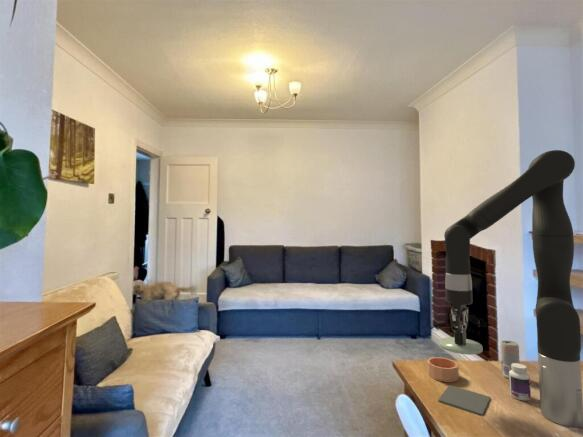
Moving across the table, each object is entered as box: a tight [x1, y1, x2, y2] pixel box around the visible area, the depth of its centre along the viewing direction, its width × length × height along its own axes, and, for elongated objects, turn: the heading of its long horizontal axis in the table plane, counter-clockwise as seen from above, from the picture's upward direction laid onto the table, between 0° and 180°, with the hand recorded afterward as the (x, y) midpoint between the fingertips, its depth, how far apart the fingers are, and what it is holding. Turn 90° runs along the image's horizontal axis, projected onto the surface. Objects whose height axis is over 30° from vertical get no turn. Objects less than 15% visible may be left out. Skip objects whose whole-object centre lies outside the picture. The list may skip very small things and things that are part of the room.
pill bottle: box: [508, 363, 532, 402], centre depth 100 cm, size 5×5×10 cm
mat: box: [437, 384, 491, 417], centre depth 99 cm, size 12×12×1 cm
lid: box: [439, 326, 484, 356], centre depth 100 cm, size 12×12×6 cm
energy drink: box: [500, 340, 521, 380], centre depth 113 cm, size 5×5×12 cm
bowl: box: [426, 356, 460, 383], centre depth 115 cm, size 10×10×5 cm
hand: (460, 342), depth 99 cm, fingers closed on lid, 3 cm apart
